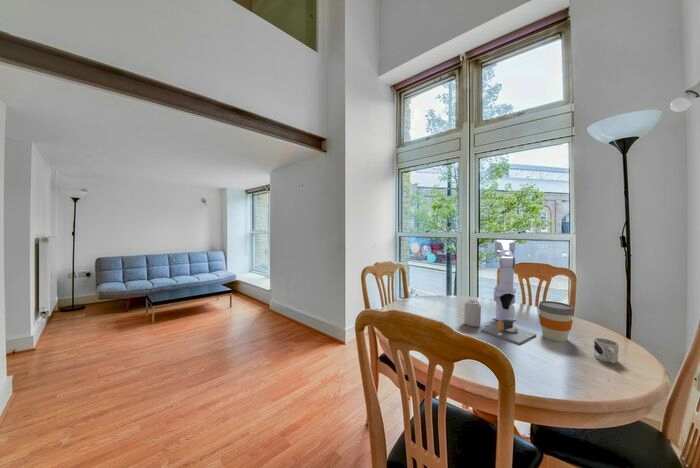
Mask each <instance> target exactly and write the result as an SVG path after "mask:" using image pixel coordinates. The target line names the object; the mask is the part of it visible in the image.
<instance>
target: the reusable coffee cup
mask: <svg viewBox="0 0 700 468" xmlns="http://www.w3.org/2000/svg"><path fill="white" fill-rule="evenodd" d="M538 310H539V314H538V317H539V324H540V326H541V333H542V337H544V338H546V339H547V340H550V341H556V342H562V343H563V342H567V341H568V339H569V338H568V337H569V333H570V331H572V325H573V316H574V306H572V305H570V304H567V303H563V302H560V301H553V300H543V301H539V303H538Z"/></svg>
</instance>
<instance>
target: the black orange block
mask: <svg viewBox="0 0 700 468" xmlns="http://www.w3.org/2000/svg"><path fill="white" fill-rule="evenodd" d="M496 321H497V322H496V323H497V329H498V330H501V331H505V332H508V333H517V332H518V329H519V327H517V326H515V325H514V321H513V320H512V319H511V318H507V320H502V321H499V320H496Z"/></svg>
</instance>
